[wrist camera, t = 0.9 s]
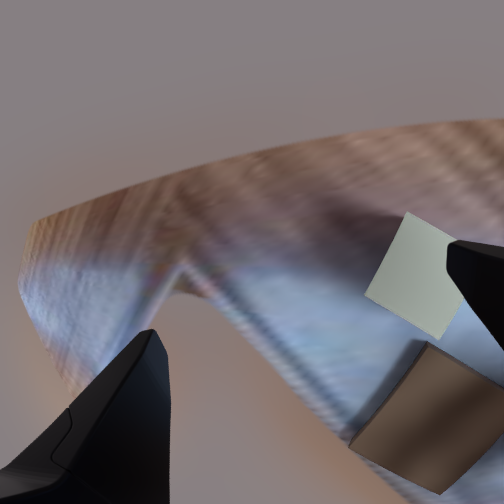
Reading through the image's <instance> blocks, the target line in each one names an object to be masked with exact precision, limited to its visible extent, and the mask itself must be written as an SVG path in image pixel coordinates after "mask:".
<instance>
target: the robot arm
mask: <svg viewBox="0 0 504 504" xmlns="http://www.w3.org/2000/svg"><path fill="white" fill-rule="evenodd" d="M446 270H447V273H448V275H449V276H450V278H451V279H452V281H453V282H454V284H455V285H456V286H457V288H458V289H459V291H460V292H461V294H462V295H463V297H464V298H465V300H466V301H467V303H468V304H469V306H470V307H471V308H472V310H473V311H474V312H475V314H476V315H477V316H478V317H479V319H480V320H481V321H482V323H483V324H484V325H485V326H486V328H487V329H488V330H489V332H490V333H491V334H492V336H493V337H494V338H495V340H496V341H497V342H498V344H499V345H500V346H501V348H502V349H503V351H504V247H500V246H494V245H488V244H482V243H476V242H469V241H463V240H456V241H454V242H451V243H449V244H448V246H447V257H446ZM170 418H171V396H170V382H169V366H168V355H167V352H166V350H165V348H164V346H163V344H162V342H161V340H160V338H159V336H158V334H157V332H156V331H155V330H154V329H149V330H145V331H141V332H140V333H139V334H138V335H137V336H136V337H135V338H134V339H133V340H132V341H131V342H130V343H129V344H128V345H127V346H126V347H125V348H124V349H123V350H122V351H121V352H120V353H119V354H118V355H117V356H116V357H115V358H114V359H113V360H112V361H111V362H110V363H109V364H108V365H107V366H106V367H105V368H104V370H103V371H102V372H101V373H100V374H99V375H98V376H97V377H96V378H95V379H94V380H93V381H92V382H91V383H90V384H89V385H88V386H87V387H86V388H85V389H84V390H83V391H82V393H81V394H80V395H79V396H78V397H77V398H76V399H75V400H74V401H73V402H72V403H71V404H70V405H69V408H66V409H65V410H64V412H63V413H62V414H61V415H60V416H59V417H58V418H57V419H56V420H55V421H54V422H53V423H52V424H51V425H50V426H49V427H48V428H47V429H46V430H45V431H44V432H43V433H42V434H41V435H40V436H39V437H38V438H36V440H34V441H33V442H32V443H31V444H30V445H29V446H28V447H27V448H26V449H25V450H23V452H21V453H20V454H19V455H18V456H17V457H16V458H15V459H14V460H13V461H12V462H11V463H9V464H8V465H7V466H6V467H4V468H2V469H1V470H0V504H170V489H169V488H170V487H169V468H170V466H169V465H170V464H169V463H170Z"/></svg>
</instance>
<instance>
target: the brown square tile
mask: <svg viewBox="0 0 504 504" xmlns="http://www.w3.org/2000/svg"><path fill="white" fill-rule="evenodd" d="M503 433H504V388H503V387H501V386H500V385H498V384H496V383H495V382H493V381H491V380H490V379H488V378H487V377H485V376H483V375H482V374H480V373H478V372H477V371H475V370H474V369H472V368H470V367H469V366H467V365H465V364H464V363H462V362H461V361H459V360H457V359H456V358H454V357H452V356H451V355H449V354H447V353H446V352H444V351H442V350H441V349H439V348H438V347H436V346H434V345H433V344H431V343H429V342H428V341H427V342H426V344H425V346H424V347H423V349H422V350H421V352H420V353H419V355H418V356H417V357H416V359H415V360H414V362H413V363H412V365H411V366H410V368H409V369H408V370H407V372H406V373H405V374H404V376H403V377H402V379H401V380H400V381H399V383H398V384H397V385H396V387H395V388H394V389H393V391H392V392H391V393H390V394H389V396H388V397H387V398H386V400H385V401H384V402H383V403H382V405H381V406H380V407H379V408H378V409H377V411H376V412H375V413H374V414H373V416H372V417H371V418H370V419H369V420H368V421H367V423H366V424H365V425H364V426H363V427H362V428H361V429H360V431H359V432H358V433H357V434H356V435H355V436H354V437H353V438H352V440H351V442H350V444H349V447H348V448H349V449H351V450H353V451H355V452H356V453H358V454H360V455H362V456H363V457H365V458H367V459H369V460H370V461H372V462H374V463H376V464H378V465H380V466H382V467H383V468H385V469H387V470H389V471H391V472H393V473H395V474H397V475H399V476H401V477H403V478H405V479H407V480H409V481H411V482H413V483H415V484H417V485H419V486H421V487H423V488H425V489H427V490H430V491H432V492H434V493H436V494H438V495H441V494H442V493H443V492H444V491H446V490H447V489H448V488H449V487H450V486H451V485H452V484H454V483H455V482H456V481H457V480H458V479H459V478H460V477H461V476H462V475H463V474H464V473H466V472H467V471H468V470H469V469H470V468H471V467H472V466H473V465H474V464H475V463H476V462H477V461H478V460H479V459H480V458H481V457H482V456H483V455H484V454H485V453H486V451H487V450H488V449H489V448H490V447H491V446H492V445H493V444H494V443H495V442H496V441H497V439H498V438H499V437H500V436H501V435H502V434H503Z"/></svg>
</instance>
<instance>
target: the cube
mask: <svg viewBox="0 0 504 504" xmlns="http://www.w3.org/2000/svg"><path fill="white" fill-rule="evenodd" d="M454 241H456V239H454V238H453V237H451V236H449V235H448V234H446V233H444V232H442V231H441V230H439V229H437V228H435V227H434V226H432V225H430V224H428V223H427V222H425V221H423V220H421V219H419V218H418V217H416V216H414V215H412V214H410V213H409V212H407V213H406V215H405V217H404V219H403V221H402V223H401V225H400V227H399V229H398V232H397V234H396V236H395V238H394V240H393V242H392V244H391V246H390V248H389V250H388V252H387V254H386V255H385V257H384V259H383V261H382V263H381V265H380V267H379V269H378V271H377V273H376V274H375V276H374V278H373V280H372V282H371V284H370V285H369V287H368V289H367V291H366V293H365V294H364V296H366V297H368V298H369V299H371V300H373V301H374V302H376V303H378V304H379V305H381V306H383V307H384V308H386V309H388V310H389V311H391V312H393V313H394V314H396V315H398V316H399V317H401V318H403V319H405V320H406V321H408V322H409V323H411V324H413V325H414V326H416V327H418V328H419V329H421V330H423V331H424V332H426V333H428V334H429V335H431V336H433V337H434V338H436V339H438V340H440V338H441V337H442V335H443V333H444V332H445V330H446V329H447V327H448V325H449V324H450V322H451V320H452V319H453V317H454V315H455V314H456V312H457V310H458V308H459V307H460V305H461V303H462V301H463V299H464V297H463V295H462V294H461V292H460V291H459V289H458V288H457V286H456V285H455V284H454V282H453V281H452V279H451V278H450V276H449V275H448V273H447V270H446V257H447V246H448V244H449V243H451V242H454Z"/></svg>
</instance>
